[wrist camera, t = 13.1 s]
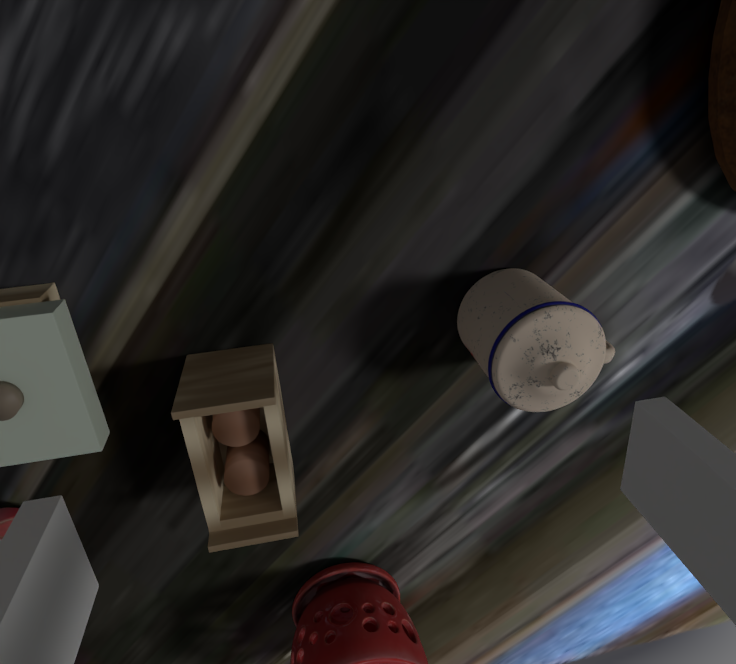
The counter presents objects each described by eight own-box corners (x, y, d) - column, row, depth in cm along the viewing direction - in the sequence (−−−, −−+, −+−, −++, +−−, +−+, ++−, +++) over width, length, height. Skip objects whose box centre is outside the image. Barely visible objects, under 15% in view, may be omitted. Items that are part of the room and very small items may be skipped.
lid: (-91, 318, 37) (-123, 340, 34) (64, 299, 38) (47, 318, 35) (-26, 453, 42) (-49, 482, 39) (109, 432, 43) (98, 459, 40)
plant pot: (266, 622, 60) (266, 742, 49) (321, 536, 56) (335, 646, 45) (369, 644, 64) (389, 758, 53) (426, 566, 60) (461, 673, 50)
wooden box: (186, 354, 45) (171, 412, 37) (272, 343, 46) (274, 397, 38) (217, 480, 50) (209, 552, 43) (293, 467, 51) (298, 536, 44)
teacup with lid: (441, 353, 49) (489, 430, 38) (469, 256, 45) (530, 312, 35) (559, 366, 52) (634, 441, 41) (594, 276, 48) (685, 333, 38)
